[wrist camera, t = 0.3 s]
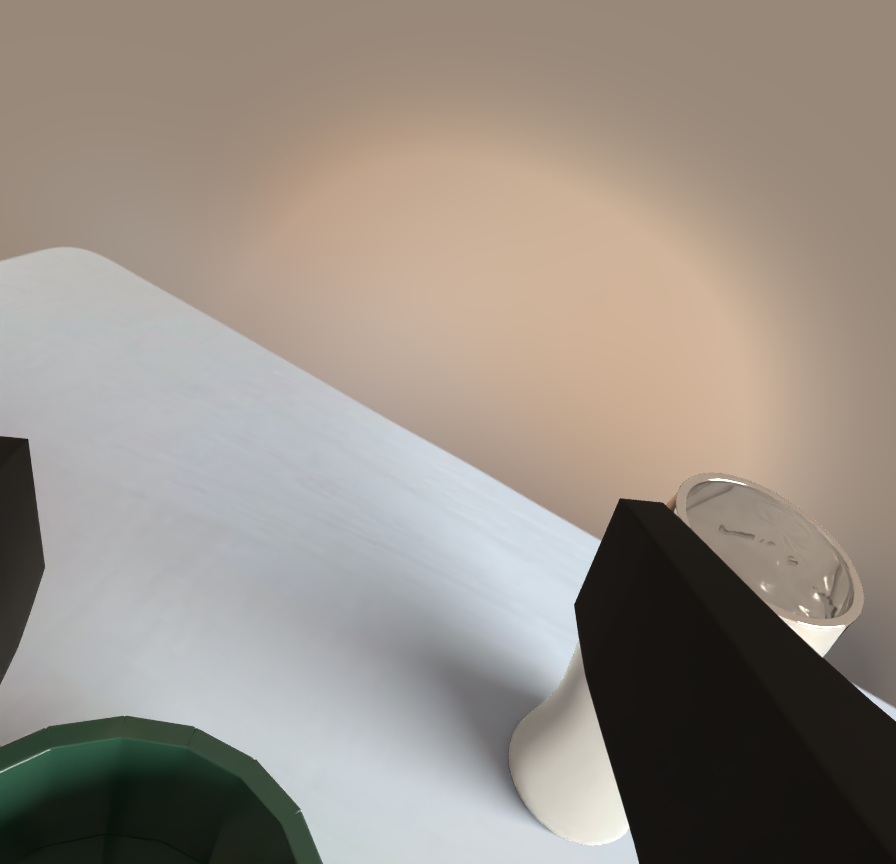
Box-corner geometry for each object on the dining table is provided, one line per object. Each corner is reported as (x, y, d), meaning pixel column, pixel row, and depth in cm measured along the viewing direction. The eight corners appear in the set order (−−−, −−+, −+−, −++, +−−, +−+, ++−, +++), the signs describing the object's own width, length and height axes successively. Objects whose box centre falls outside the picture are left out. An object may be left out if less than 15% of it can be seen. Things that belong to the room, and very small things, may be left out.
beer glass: (467, 770, 32) (639, 521, 23) (545, 674, 37) (708, 443, 28) (606, 898, 29) (853, 676, 21) (667, 776, 35) (884, 559, 26)
